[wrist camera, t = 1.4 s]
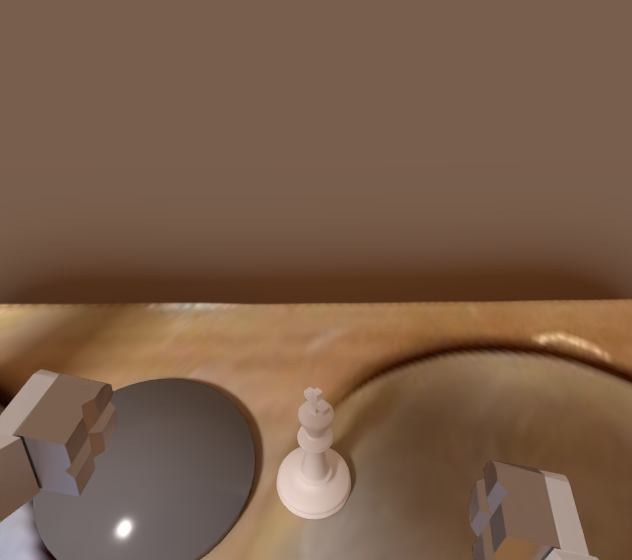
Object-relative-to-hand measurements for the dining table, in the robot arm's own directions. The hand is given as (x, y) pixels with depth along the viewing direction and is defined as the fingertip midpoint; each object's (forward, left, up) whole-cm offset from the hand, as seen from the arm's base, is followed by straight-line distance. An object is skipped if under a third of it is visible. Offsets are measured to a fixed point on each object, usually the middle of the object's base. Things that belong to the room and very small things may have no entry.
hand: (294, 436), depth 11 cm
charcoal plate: (+11, -11, -23) cm, 28 cm away
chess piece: (0, -11, -23) cm, 26 cm away
